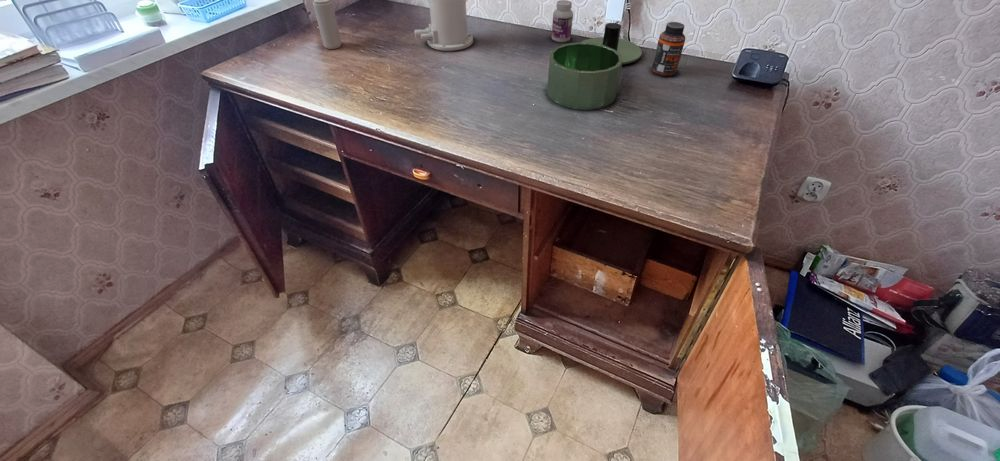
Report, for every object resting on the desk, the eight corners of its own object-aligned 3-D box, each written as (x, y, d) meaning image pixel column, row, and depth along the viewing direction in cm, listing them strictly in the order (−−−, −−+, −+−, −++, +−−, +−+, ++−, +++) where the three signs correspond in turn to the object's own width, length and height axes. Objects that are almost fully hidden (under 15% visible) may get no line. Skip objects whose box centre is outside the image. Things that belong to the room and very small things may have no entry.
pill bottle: (548, 40, 129) (550, 3, 123) (555, 34, 133) (558, -3, 126) (566, 44, 127) (569, 6, 121) (573, 37, 131) (577, 0, 124)
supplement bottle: (662, 79, 112) (674, 31, 104) (646, 69, 116) (656, 22, 108) (681, 74, 114) (694, 26, 106) (664, 64, 118) (676, 18, 110)
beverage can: (320, 48, 126) (307, 0, 117) (331, 41, 129) (319, -5, 121) (335, 51, 124) (323, 3, 116) (346, 44, 128) (335, -3, 119)
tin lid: (594, 70, 115) (598, 41, 110) (567, 45, 127) (569, 18, 122) (653, 62, 119) (659, 33, 114) (621, 38, 130) (626, 11, 125)
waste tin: (563, 114, 100) (567, 76, 94) (537, 82, 111) (539, 47, 105) (628, 103, 103) (635, 66, 97) (597, 74, 114) (602, 39, 108)
